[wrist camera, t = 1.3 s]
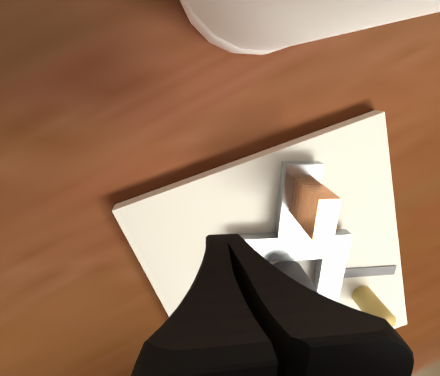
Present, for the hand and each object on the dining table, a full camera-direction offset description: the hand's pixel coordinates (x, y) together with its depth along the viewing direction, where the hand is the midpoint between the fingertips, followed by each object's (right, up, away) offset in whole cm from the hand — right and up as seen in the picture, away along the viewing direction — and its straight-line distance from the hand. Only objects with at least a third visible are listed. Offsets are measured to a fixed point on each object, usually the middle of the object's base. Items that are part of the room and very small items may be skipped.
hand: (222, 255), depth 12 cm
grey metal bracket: (+5, -2, +9) cm, 10 cm away
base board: (+5, -3, +11) cm, 12 cm away
